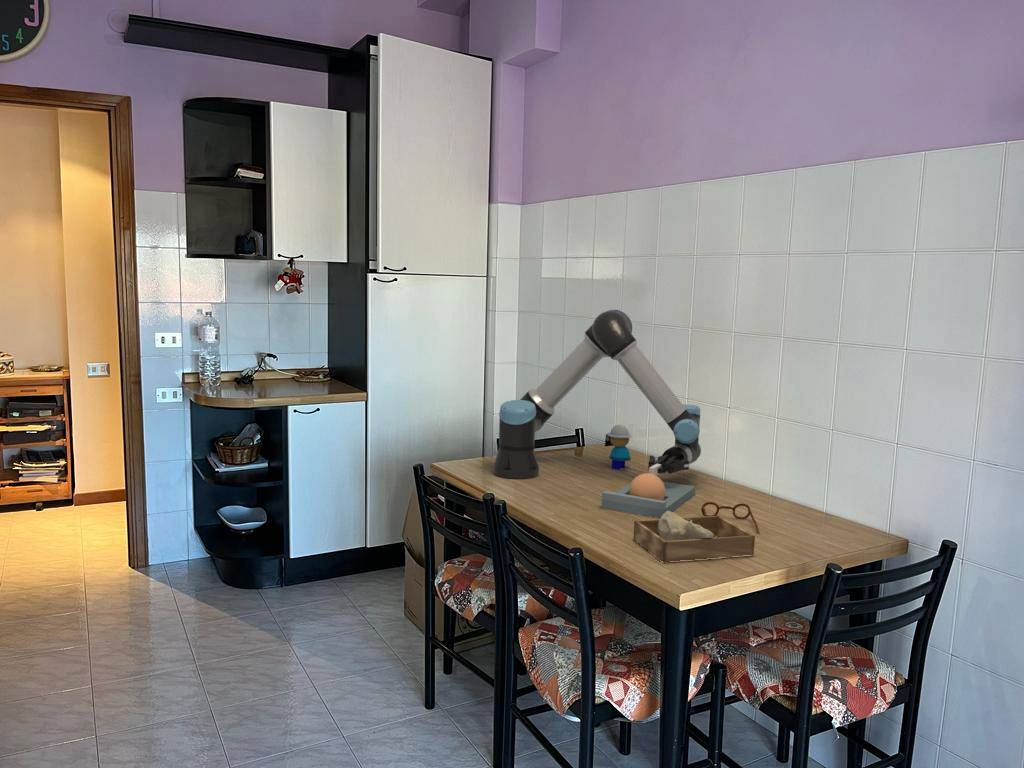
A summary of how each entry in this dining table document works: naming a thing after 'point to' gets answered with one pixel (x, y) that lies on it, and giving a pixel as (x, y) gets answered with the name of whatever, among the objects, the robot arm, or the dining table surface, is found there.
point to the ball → (647, 487)
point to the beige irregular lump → (680, 528)
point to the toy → (618, 446)
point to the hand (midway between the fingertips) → (651, 472)
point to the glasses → (733, 511)
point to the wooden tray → (696, 540)
